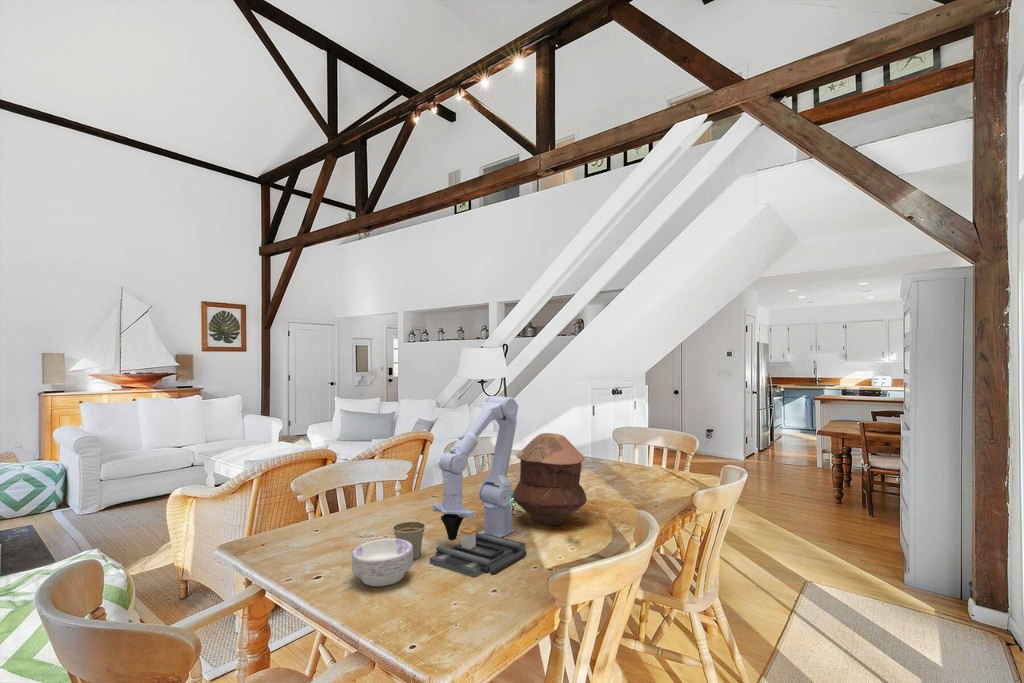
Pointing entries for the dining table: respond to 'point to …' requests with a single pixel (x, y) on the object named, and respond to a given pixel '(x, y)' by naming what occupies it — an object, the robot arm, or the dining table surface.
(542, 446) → the pottery vessel
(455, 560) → the breaker panel
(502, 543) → the dark grey bar
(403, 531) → the flower pot
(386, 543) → the paper bowls
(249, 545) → the dining table surface
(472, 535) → the breaker lever
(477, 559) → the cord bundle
